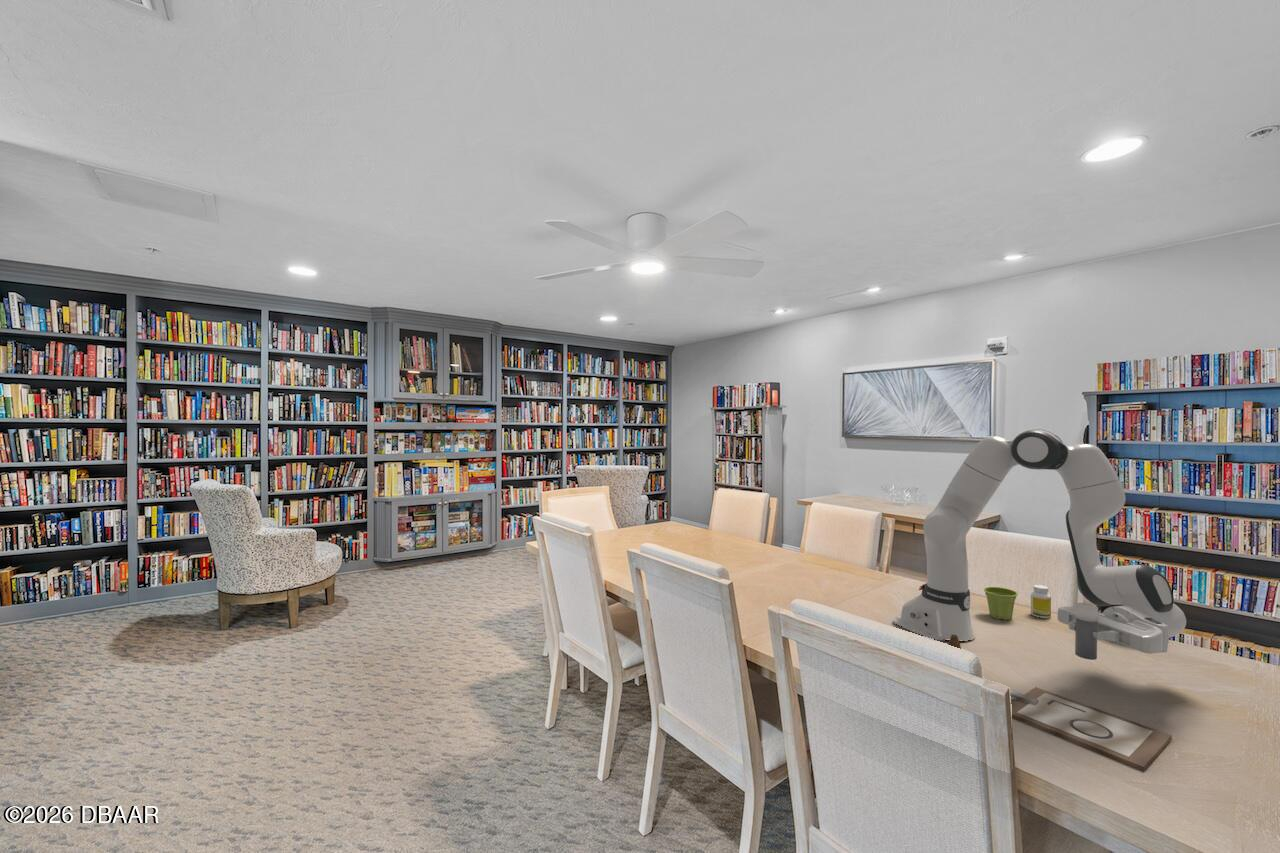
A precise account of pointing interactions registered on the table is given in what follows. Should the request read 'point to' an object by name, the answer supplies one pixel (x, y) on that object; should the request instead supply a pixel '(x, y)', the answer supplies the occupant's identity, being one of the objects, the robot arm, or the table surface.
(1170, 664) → the table surface
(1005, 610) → the plant pot
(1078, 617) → the marker
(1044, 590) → the supplement bottle
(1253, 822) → the table surface
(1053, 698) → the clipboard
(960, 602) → the robot arm
